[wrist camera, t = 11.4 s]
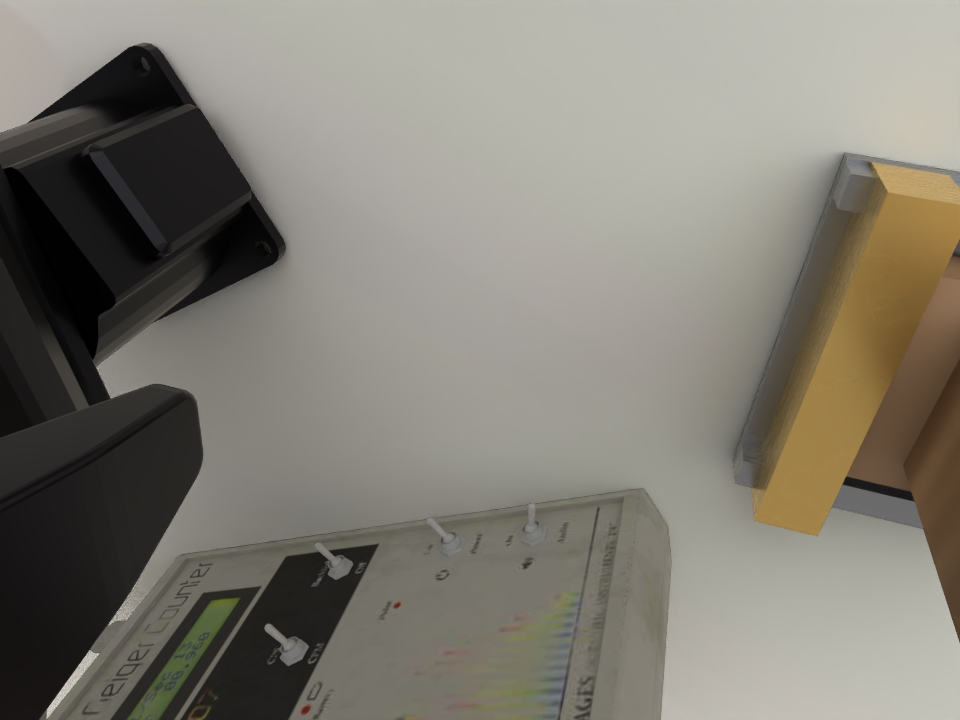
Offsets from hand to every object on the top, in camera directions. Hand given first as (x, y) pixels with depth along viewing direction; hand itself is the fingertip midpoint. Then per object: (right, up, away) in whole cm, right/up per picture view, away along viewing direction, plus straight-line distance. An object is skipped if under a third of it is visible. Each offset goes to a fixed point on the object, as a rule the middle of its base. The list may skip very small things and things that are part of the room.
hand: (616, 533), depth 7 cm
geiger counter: (-6, -6, +22) cm, 24 cm away
